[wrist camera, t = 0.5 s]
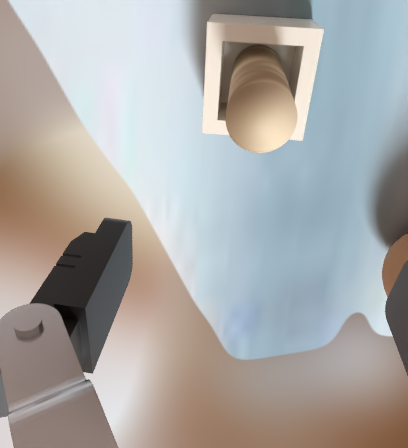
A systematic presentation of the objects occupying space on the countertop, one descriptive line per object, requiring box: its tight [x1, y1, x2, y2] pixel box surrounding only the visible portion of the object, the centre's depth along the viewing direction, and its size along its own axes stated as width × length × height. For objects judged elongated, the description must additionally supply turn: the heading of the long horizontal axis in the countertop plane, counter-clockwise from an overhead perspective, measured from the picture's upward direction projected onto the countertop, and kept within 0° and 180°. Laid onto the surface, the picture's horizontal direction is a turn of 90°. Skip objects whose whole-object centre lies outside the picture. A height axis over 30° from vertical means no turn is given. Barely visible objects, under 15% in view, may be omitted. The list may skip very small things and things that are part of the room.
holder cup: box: [202, 14, 324, 141], centre depth 27 cm, size 7×7×5 cm
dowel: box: [226, 45, 298, 153], centre depth 24 cm, size 4×4×11 cm
